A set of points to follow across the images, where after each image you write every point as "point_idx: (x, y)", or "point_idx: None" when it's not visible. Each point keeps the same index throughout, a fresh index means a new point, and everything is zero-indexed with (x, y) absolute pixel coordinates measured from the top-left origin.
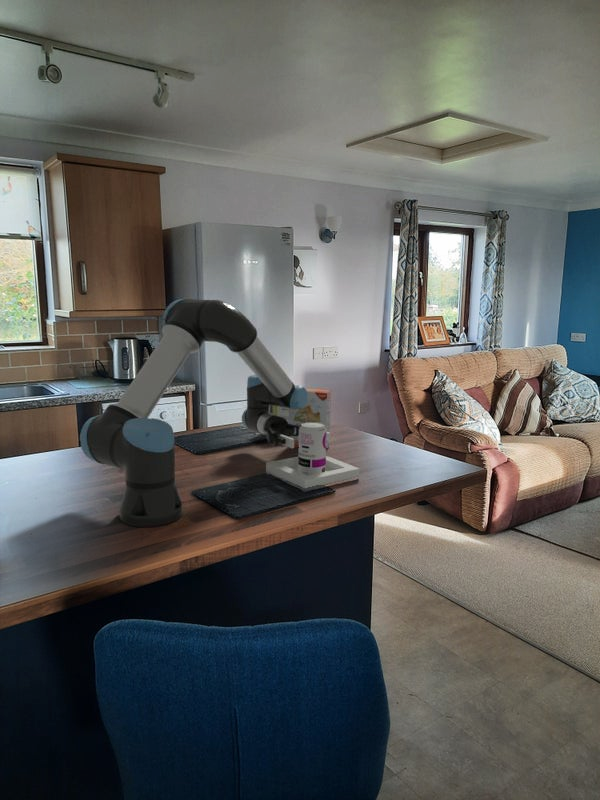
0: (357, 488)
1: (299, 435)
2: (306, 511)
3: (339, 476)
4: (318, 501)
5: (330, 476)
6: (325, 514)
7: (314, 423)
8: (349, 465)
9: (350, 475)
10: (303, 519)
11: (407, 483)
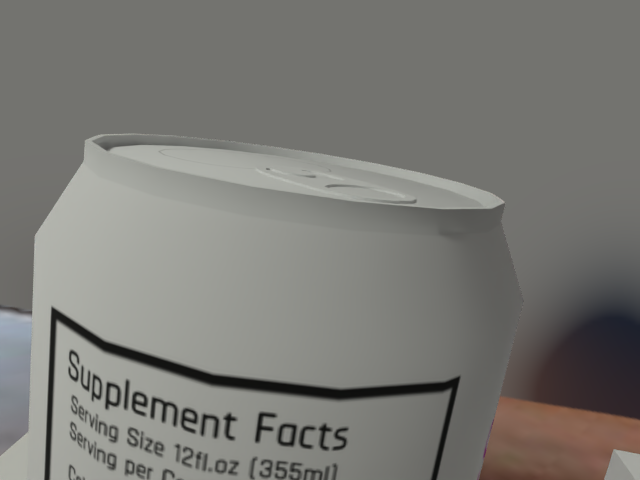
0: None
1: (497, 397)
2: (600, 449)
3: None
4: (500, 466)
5: None
6: (533, 404)
7: (154, 163)
8: (13, 460)
9: None
10: (633, 427)
11: (5, 341)
